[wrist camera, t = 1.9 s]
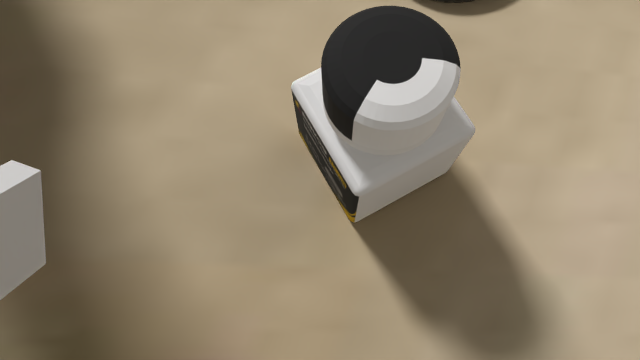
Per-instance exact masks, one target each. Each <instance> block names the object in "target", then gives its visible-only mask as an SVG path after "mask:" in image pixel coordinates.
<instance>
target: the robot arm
mask: <svg viewBox="0 0 640 360" xmlns="http://www.w3.org/2000/svg"><path fill="white" fill-rule="evenodd" d="M45 264H46V253H45V235H44V217H43V199H42V181H41V170H38V169H35V168H33V167H30V166H27V165H24V164H21V163H19V162H16V161H13V160H11V161H9V162H7V163H5V164H3V165H1V166H0V300H1V299H2V298H4V297H5V296H6V295H7V294H9V293H10V292H11V291H12V290H14V289H15V288H16V287H17V286H19V285H20V284H21V283H22V282H24V281H25V280H26V279H27V278H29V277H30V276H31V275H32V274H34V273H35V272H36V271H37V270H39V269H40V268H41V267H43V266H44V265H45Z"/></svg>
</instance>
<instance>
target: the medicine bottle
mask: <svg viewBox="0 0 640 360" xmlns="http://www.w3.org/2000/svg"><path fill="white" fill-rule="evenodd" d="M459 79H460V60H459V56H458V52H457V49H456V47H455V45H454V42H453V41H452V39H451V38H450V36H449V35H448V33H447V32H446V31H445V30H444V29H443V28H442V27H441V26H440V25H439V24H438V23H437V22H436V21H434V20H433V19H431V18H430V17H428V16H426V15H425V14H423V13H421V12H418V11H415V10H413V9H409V8H405V7H399V6H380V7H373V8H369V9H366V10H363V11H361V12H358V13H356V14H354V15H352V16H351V17H349V18H348V19H346V20H345V21H344V22H342V23H341V24H340V25H339V26H338V27H337V28H336V29H335V31H334V32H333V33H332V34H331V36H330V38H329V39H328V41H327V43H326V46H325V48H324V51H323V55H322V63H321V68H319V69H317V70H315V71H313V72H311V73H309V74H307V75H305V76H303V77H301V78H299V79H297V80H295V81H294V82H293V83H292V86H291V90H292V95H293V101H294V107H295V112H296V118H297V123H298V129H299V134H300V136H301V138H302V139H303V141H304V143H305V144H306V146H307V148H308V150H309V151H310V153H311V155H312V157H313V158H314V160H315V162H316V163H317V165H318V167H319V169H320V170H321V172H322V174H323V175H324V177H325V179H326V181H327V182H328V184H329V186H330V187H331V189H332V191H333V193H334V194H335V196H336V198H337V199H338V201H339V203H340V205H341V206H342V208H343V210H344V211H345V213H346V215H347V217H348V218H349V220H350V221H351V222H358V221H360V220H361V219H363V218H365V217H367V216H369V215H370V214H372V213H374V212H376V211H378V210H379V209H381V208H383V207H385V206H387V205H388V204H390V203H392V202H394V201H396V200H398V199H399V198H401V197H403V196H405V195H407V194H408V193H410V192H412V191H414V190H416V189H417V188H419V187H421V186H423V185H425V184H426V183H428V182H430V181H432V180H434V179H435V178H437V177H439V176H441V175H443V174H444V173H446V172H447V171H448V170H449V169H450V167H451V166H452V164H453V163H454V162H455V160H456V159H457V157H458V156H459V154H460V153H461V152H462V150H463V149H464V147H465V146H466V145H467V143H468V142H469V140H470V139H471V138H472V136H473V135H474V133H475V126H474V125H473V123H472V122H471V120H470V119H469V117H468V116H467V114H466V113H465V112H464V110H463V109H462V107H461V106H460V104H459V103H458V101H457V100H456V99H455V97H454V95H455V92H456V90H457V87H458V84H459Z"/></svg>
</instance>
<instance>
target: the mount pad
mask: <svg viewBox="0 0 640 360" xmlns="http://www.w3.org/2000/svg"><path fill="white" fill-rule="evenodd" d="M434 1H440V2H468V1H474V0H434Z"/></svg>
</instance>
